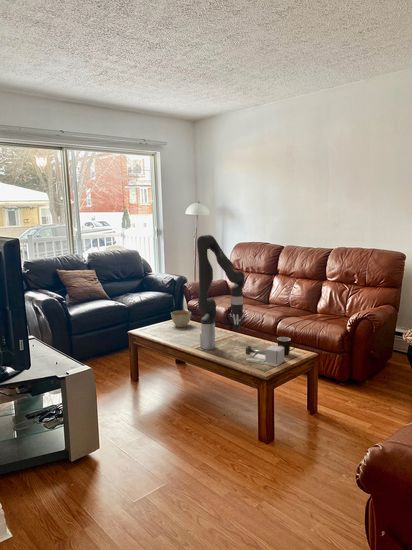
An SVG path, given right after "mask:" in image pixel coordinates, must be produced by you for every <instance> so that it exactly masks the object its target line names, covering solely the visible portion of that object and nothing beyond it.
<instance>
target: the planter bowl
mask: <svg viewBox="0 0 412 550" xmlns="http://www.w3.org/2000/svg"><path fill="white" fill-rule="evenodd" d="M170 316H171V319H172V322H173V324H174V325H175V327H176V328H186V327H188V324H189V323H190V321H191V318H192V312H191V311H190V310H174V311H172V312H170Z"/></svg>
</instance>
